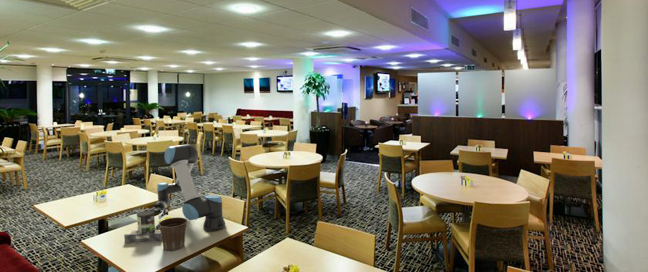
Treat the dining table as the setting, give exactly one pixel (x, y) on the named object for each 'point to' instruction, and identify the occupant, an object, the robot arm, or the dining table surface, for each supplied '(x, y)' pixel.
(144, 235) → the display shelf
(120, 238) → the dining table surface
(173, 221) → the plant pot
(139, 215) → the coffee can
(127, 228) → the dining table surface
